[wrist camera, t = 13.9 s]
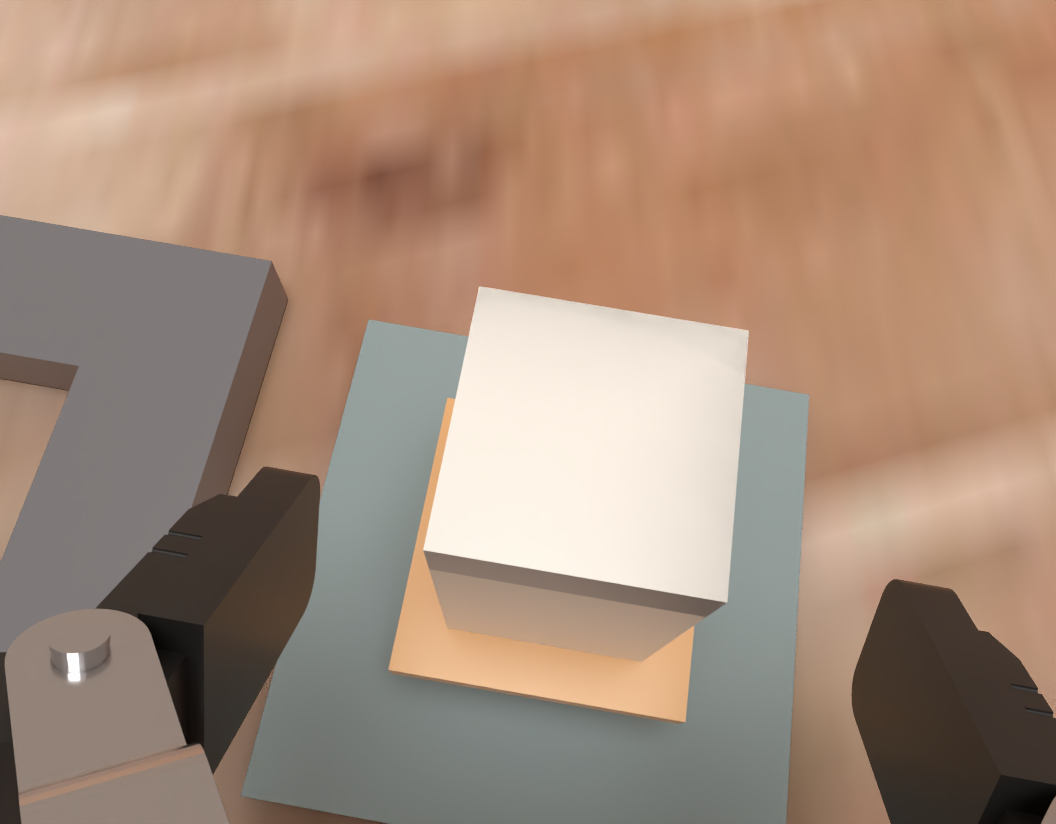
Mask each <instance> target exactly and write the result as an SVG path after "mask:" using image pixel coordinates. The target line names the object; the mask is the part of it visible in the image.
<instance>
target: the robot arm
mask: <svg viewBox="0 0 1056 824" xmlns="http://www.w3.org/2000/svg"><path fill="white" fill-rule="evenodd" d="M319 503H320V482H319V479H318V477H317V476H316V475H311V474H305V473H300V472H294V471H288V470H283V469H277V468H271V467H263V468H262V469H261V470H260V471H259V472H258V473H257V474H256V476H255V477H254V478H253V479H252V480H251V481H250V483H249V484H248V485H247V486H246V487H245V488H244V490H243V491H242V492H241V493H240V494H239V495H238V497H235V496H230V495H224V494H218V495H216V496H214V497H212V498H210V499H208V500H206V501H204V502H202V503H200V504H198V505H196V506H194V507H192V508H190V509H188V510H187V511H186V512H185V513H184V514H183V516H182V517H181V518H180V519H179V520H178V521H177V522H176V523H175V524H174V525H173V526H172V527H171V528H170V529H169V532H168V535H166V534H165V535H164V536H163V537H162V538H161V539H160V540H159V541H158V542H157V543H156V544H155V545H154V546H153V547H152V552H148V553H147V554H146V555H145V556H144V557H143V558H142V559H141V560H140V561H139V562H138V563H137V564H136V566H135V567H134V568H133V569H132V570H131V571H130V572H129V573H128V574H127V575H126V576H125V577H124V578H123V579H122V580H121V581H120V583H119V584H118V585H117V586H116V587H115V588H114V589H113V590H112V591H111V592H110V593H109V594H108V595H107V596H106V597H105V598H104V600H103V601H102V602H101V603H100V604H99V605H98V606H97V607H96V608H95V609H83V610H76V611H70V612H66V613H62V614H58V615H55V616H53V617H50V618H47V619H45V620H43V621H41V622H38V623H37V624H35V625H33V626H31V627H30V628H28V629H27V630H25V631H24V632H23V633H22V634H20V635H19V636H18V637H17V638H16V639H15V640H14V641H13V642H12V644H11V645H10V647H9V649H8V650H7V652H0V824H229V821H228V818H227V815H226V812H225V810H224V807H223V804H222V801H221V798H220V795H219V792H218V789H217V786H216V783H215V780H214V777H213V774H214V772H215V770H216V768H217V767H218V765H219V763H220V761H221V759H222V758H223V756H224V754H225V752H226V751H227V749H228V747H229V745H230V744H231V742H232V740H233V738H234V736H235V735H236V733H237V731H238V729H239V728H240V726H241V724H242V722H243V721H244V719H245V717H246V715H247V713H248V712H249V710H250V708H251V706H252V705H253V703H254V701H255V699H256V697H257V696H258V694H259V692H260V690H261V689H262V687H263V685H264V683H265V682H266V680H267V678H268V676H269V674H270V673H271V671H272V669H273V667H274V666H275V664H276V662H277V660H278V659H279V657H280V655H281V653H282V651H283V650H284V648H285V646H286V644H287V643H288V641H289V639H290V637H291V636H292V634H293V632H294V630H295V628H296V627H297V625H298V623H299V621H300V620H301V618H302V616H303V614H304V612H305V610H306V608H307V605H308V603H309V600H310V596H311V593H312V589H313V584H314V579H315V572H316V557H317V539H318V521H319ZM852 708H853V713H854V717H855V720H856V723H857V726H858V729H859V732H860V735H861V737H862V740H863V743H864V746H865V749H866V752H867V755H868V758H869V761H870V764H871V767H872V770H873V773H874V776H875V779H876V781H877V784H878V787H879V790H880V793H881V796H882V799H883V802H884V805H885V808H886V811H887V814H888V817H889V820H890V823H891V824H1056V718H1053V711H1052V709H1051V708H1050V706H1049V705H1048V703H1047V702H1046V700H1045V699H1044V697H1043V695H1042V694H1038V688H1037V686H1036V684H1035V683H1034V681H1033V680H1032V678H1031V677H1030V675H1029V674H1028V672H1027V670H1026V669H1025V667H1024V666H1023V664H1022V663H1021V661H1020V660H1019V659H1018V658H1017V657H1016V656H1015V655H1014V654H1013V653H1011V652H1010V651H1009V650H1008V649H1007V648H1006V647H1005V646H1003V645H1002V644H1001V643H1000V642H999V641H998V640H997V639H995V638H994V637H993V636H992V635H991V634H990V633H989V632H985V631H979V630H978V629H977V628H976V626H975V624H974V623H973V621H972V619H971V618H970V616H969V615H968V613H967V611H966V610H965V608H964V606H963V605H962V603H961V601H960V600H959V598H958V596H957V595H956V593H955V592H954V591H953V590H951V589H949V588H943V587H938V586H932V585H926V584H921V583H915V582H909V581H904V580H898V579H894V580H892V581H891V582H889V583H888V585H887V586H886V588H885V590H884V592H883V594H882V597H881V599H880V602H879V605H878V608H877V610H876V613H875V616H874V619H873V621H872V624H871V627H870V630H869V633H868V635H867V638H866V641H865V644H864V646H863V649H862V652H861V655H860V657H859V660H858V663H857V666H856V669H855V672H854V677H853V683H852Z"/></svg>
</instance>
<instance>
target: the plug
mask: <svg viewBox="0 0 1056 824" xmlns="http://www.w3.org/2000/svg"><path fill="white" fill-rule="evenodd" d="M748 335H749V331H748V330H742V329H736V328H730V327H724V326H717V325H711V324H705V323H699V322H693V321H687V320H681V319H675V318H669V317H663V316H657V315H651V314H645V313H639V312H633V311H626V310H620V309H614V308H608V307H602V306H596V305H590V304H584V303H578V302H572V301H566V300H560V299H554V298H548V297H542V296H536V295H529V294H523V293H517V292H511V291H505V290H499V289H493V288H487V287H481V286H479V291H478V295H477V300H476V305H475V309H474V314H473V319H472V323H471V328H470V333H469V337H468V342H467V347H466V351H465V356H464V361H463V366H462V370H461V375H460V380H459V384H458V389H457V394H456V398H455V399H453V398H447V402H446V407H445V411H444V416H443V420H442V425H441V430H440V434H439V439H438V443H437V448H436V453H435V457H434V462H433V466H432V471H431V476H430V480H429V485H428V489H427V494H426V499H425V503H424V508H423V512H422V517H421V522H420V526H419V531H418V535H417V540H416V545H415V549H414V554H413V558H412V563H411V568H410V572H409V577H408V581H407V586H406V591H405V595H404V600H403V604H402V609H401V614H400V618H399V623H398V627H397V632H396V637H395V641H394V646H393V650H392V655H391V660H390V664H389V669H388V670H389V671H390V672H391V673H392V674H397V675H402V676H408V677H414V678H420V679H425V680H431V681H437V682H442V683H448V684H454V685H459V686H465V687H471V688H476V689H482V690H488V691H493V692H499V693H505V694H510V695H516V696H522V697H527V698H533V699H539V700H544V701H550V702H556V703H561V704H567V705H573V706H578V707H584V708H590V709H595V710H601V711H607V712H612V713H618V714H624V715H629V716H635V717H641V718H646V719H652V720H658V721H663V722H669V723H675V724H680V723H684V722H686V711H687V700H688V689H689V679H690V668H691V657H692V646H693V635H694V625H696V624H697V623H699V622H700V621H701V620H703V619H704V618H706V617H707V616H709V615H710V614H712V613H713V612H714V611H716V610H717V609H719V608H720V607H722V606H723V605H725V604H726V603H727V600H728V587H729V575H730V562H731V549H732V537H733V524H734V512H735V499H736V486H737V474H738V461H739V448H740V436H741V423H742V410H743V398H744V385H745V373H746V360H747V347H748Z"/></svg>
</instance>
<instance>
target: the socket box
mask: <svg viewBox="0 0 1056 824" xmlns="http://www.w3.org/2000/svg"><path fill="white" fill-rule="evenodd" d="M287 301H288V298H287V295H286V293H285V291H284V289H283V286H282V284H281V282H280V279H279V277H278V275H277V272H276V270H275V268H274V265H273V263H272V261H268V260H262V259H256V258H250V257H244V256H238V255H233V254H227V253H221V252H215V251H209V250H203V249H197V248H191V247H185V246H179V245H174V244H168V243H162V242H156V241H150V240H144V239H138V238H132V237H126V236H120V235H114V234H109V233H103V232H97V231H91V230H85V229H79V228H73V227H67V226H61V225H55V224H50V223H44V222H38V221H32V220H26V219H20V218H14V217H8V216H2V215H0V378H1V379H7V380H12V381H18V382H24V383H30V384H35V385H41V386H47V387H53V388H58V389H64V390H69V392H68V395H67V397H66V400H65V402H64V405H63V407H62V410H61V412H60V415H59V417H58V420H57V422H56V425H55V427H54V430H53V432H52V435H51V437H50V440H49V442H48V445H47V447H46V450H45V452H44V455H43V457H42V460H41V462H40V465H39V467H38V470H37V472H36V475H35V477H34V480H33V482H32V485H31V487H30V490H29V492H28V495H27V497H26V500H25V502H24V505H23V507H22V510H21V512H20V515H19V517H18V520H17V522H16V525H15V527H14V530H13V532H12V535H11V537H10V540H9V542H8V545H7V547H6V550H5V552H4V555H3V557H2V560H1V562H0V652H7V650H8V649H9V647H10V645H11V644H12V642H13V641H14V640H15V639H16V638H17V637H18V636H19V635H20V634H22V633H23V632H24V631H25V630H27V629H28V628H30V627H31V626H33V625H35V624H37V623H38V622H41V621H43V620H45V619H47V618H50V617H53V616H55V615H58V614H62V613H66V612H70V611H76V610H83V609H95V608H96V607H97V606H98V605H99V604H100V603H101V602H102V601H103V600H104V598H105V597H106V596H107V595H108V594H109V593H110V592H111V591H112V590H113V589H114V588H115V587H116V586H117V585H118V584H119V583H120V581H121V580H122V579H123V578H124V577H125V576H126V575H127V574H128V573H129V572H130V571H131V570H132V569H133V568H134V567H135V566H136V564H137V563H138V562H139V561H140V560H141V559H142V558H143V557H144V556H145V555H146V554H147V553H148V552H152V547H153V546H154V545H155V544H156V543H157V542H158V541H159V540H160V539H161V538H162V537H163V536H164V535H165V534H166V535H168V532H169V529H170V528H171V527H172V526H173V525H174V524H175V523H176V522H177V521H178V520H179V519H180V518H181V517H182V516H183V514H184V513H185V512H186V511H187V510H188V509H190V508H192V507H194V506H196V505H198V504H200V503H202V502H204V501H206V500H208V499H210V498H212V497H214V496H216V495H218V494H224V495H227V494H228V490H229V487H230V484H231V481H232V478H233V474H234V471H235V468H236V465H237V462H238V458H239V455H240V452H241V449H242V445H243V442H244V439H245V436H246V433H247V429H248V426H249V423H250V420H251V417H252V413H253V410H254V407H255V404H256V400H257V397H258V394H259V391H260V388H261V384H262V381H263V378H264V375H265V372H266V368H267V365H268V362H269V359H270V355H271V352H272V349H273V346H274V343H275V339H276V336H277V333H278V330H279V327H280V323H281V320H282V317H283V314H284V310H285V307H286V304H287Z"/></svg>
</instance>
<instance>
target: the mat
mask: <svg viewBox="0 0 1056 824" xmlns="http://www.w3.org/2000/svg"><path fill="white" fill-rule="evenodd" d="M467 342H468V336H462V335H456V334H451V333H445V332H439V331H433V330H427V329H421V328H415V327H409V326H404V325H398V324H392V323H386V322H380V321H374V320H368V324H367V328H366V331H365V335H364V339H363V343H362V346H361V350H360V354H359V357H358V361H357V365H356V369H355V372H354V376H353V380H352V384H351V387H350V391H349V395H348V398H347V402H346V406H345V410H344V413H343V417H342V421H341V424H340V428H339V432H338V436H337V439H336V443H335V447H334V450H333V454H332V458H331V462H330V465H329V469H328V473H327V476H326V480H325V484H324V488H323V491H322V495H321V499H320V503H319V521H318V539H317V557H316V572H315V579H314V584H313V589H312V593H311V596H310V600H309V603H308V605H307V608H306V610H305V612H304V614H303V616H302V618H301V620H300V621H299V623H298V625H297V627H296V628H295V630H294V632H293V634H292V636H291V637H290V639H289V641H288V643H287V644H286V646H285V648H284V650H283V651H282V653H281V655H280V657H279V659H278V660H277V662H276V666H275V670H274V674H273V677H272V681H271V685H270V688H269V692H268V696H267V700H266V703H265V707H264V711H263V714H262V718H261V722H260V726H259V729H258V733H257V737H256V740H255V744H254V748H253V752H252V755H251V759H250V763H249V767H248V770H247V774H246V778H245V781H244V785H243V789H242V793H241V796H243V797H248V798H253V799H259V800H264V801H270V802H275V803H280V804H286V805H291V806H297V807H302V808H307V809H313V810H318V811H323V812H329V813H334V814H340V815H345V816H350V817H356V818H361V819H366V820H372V821H377V822H383V823H388V824H786V818H787V799H788V780H789V762H790V743H791V724H792V706H793V687H794V668H795V650H796V631H797V612H798V594H799V575H800V556H801V538H802V519H803V500H804V482H805V463H806V444H807V426H808V407H809V395H808V394H802V393H796V392H790V391H785V390H779V389H773V388H767V387H761V386H755V385H749V384H745V385H744V398H743V410H742V423H741V436H740V448H739V461H738V474H737V486H736V499H735V512H734V524H733V537H732V549H731V562H730V575H729V587H728V600H727V603H726V604H725V605H723V606H722V607H720V608H719V609H717V610H716V611H714V612H713V613H712V614H710V615H709V616H707V617H706V618H704V619H703V620H701V621H700V622H699V623H697V624H696V625H694V635H693V646H692V657H691V668H690V679H689V689H688V700H687V711H686V722H684V723H680V724H675V723H669V722H663V721H658V720H652V719H646V718H641V717H635V716H629V715H624V714H618V713H612V712H607V711H601V710H595V709H590V708H584V707H578V706H573V705H567V704H561V703H556V702H550V701H544V700H539V699H533V698H527V697H522V696H516V695H510V694H505V693H499V692H493V691H488V690H482V689H476V688H471V687H465V686H459V685H454V684H448V683H442V682H437V681H431V680H425V679H420V678H414V677H408V676H402V675H397V674H392V673H391V672H390V671H389V670H388V669H389V664H390V660H391V655H392V650H393V646H394V641H395V637H396V632H397V627H398V623H399V618H400V614H401V609H402V604H403V600H404V595H405V591H406V586H407V581H408V577H409V572H410V568H411V563H412V558H413V554H414V549H415V545H416V540H417V535H418V531H419V526H420V522H421V517H422V512H423V508H424V503H425V499H426V494H427V489H428V485H429V480H430V476H431V471H432V466H433V462H434V457H435V453H436V448H437V443H438V439H439V434H440V430H441V425H442V420H443V416H444V411H445V407H446V402H447V398H453V399H455V398H456V394H457V389H458V384H459V380H460V375H461V370H462V366H463V361H464V356H465V351H466V347H467Z"/></svg>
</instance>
